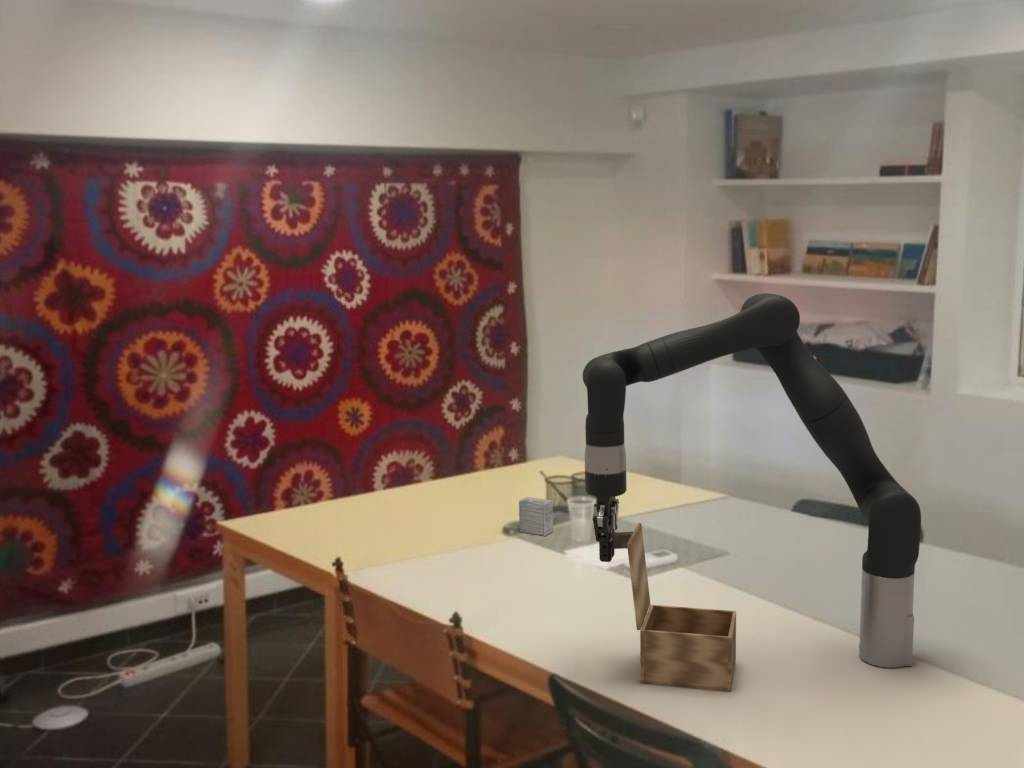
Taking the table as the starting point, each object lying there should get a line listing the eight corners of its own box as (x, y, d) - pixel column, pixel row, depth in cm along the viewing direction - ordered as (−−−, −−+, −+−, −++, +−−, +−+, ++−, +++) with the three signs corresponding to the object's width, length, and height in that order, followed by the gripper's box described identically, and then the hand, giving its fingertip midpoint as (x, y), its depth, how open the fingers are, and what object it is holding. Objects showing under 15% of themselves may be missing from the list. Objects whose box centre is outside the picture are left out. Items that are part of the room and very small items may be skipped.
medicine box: (553, 532, 290) (553, 500, 288) (544, 536, 286) (544, 504, 284) (527, 528, 294) (527, 496, 292) (519, 532, 290) (518, 500, 289)
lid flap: (641, 522, 208) (611, 524, 209) (630, 543, 195) (599, 545, 197) (650, 604, 210) (621, 605, 211) (640, 630, 197) (609, 630, 199)
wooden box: (735, 661, 207) (736, 611, 206) (730, 691, 195) (731, 638, 193) (650, 654, 211) (650, 604, 210) (640, 683, 199) (640, 630, 197)
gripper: (619, 477, 193) (621, 572, 196) (631, 459, 206) (633, 548, 209) (577, 476, 195) (579, 570, 198) (592, 457, 208) (594, 546, 211)
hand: (607, 558), depth 204 cm, fingers closed on lid flap, 2 cm apart
